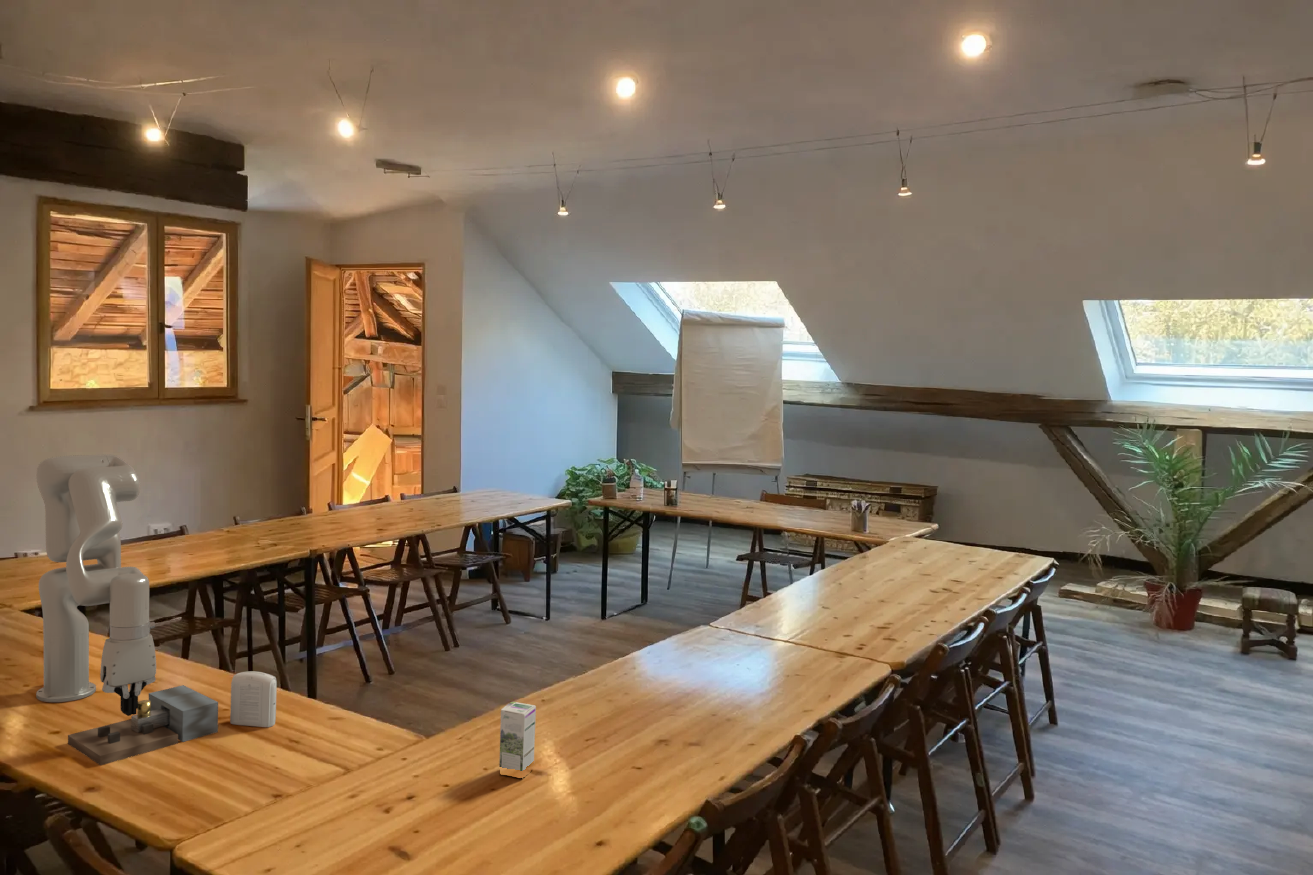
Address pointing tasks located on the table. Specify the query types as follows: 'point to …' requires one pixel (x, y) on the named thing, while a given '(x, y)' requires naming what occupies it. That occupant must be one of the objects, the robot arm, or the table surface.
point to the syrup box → (517, 736)
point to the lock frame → (151, 727)
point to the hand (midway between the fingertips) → (129, 713)
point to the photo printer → (253, 699)
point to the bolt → (149, 716)
